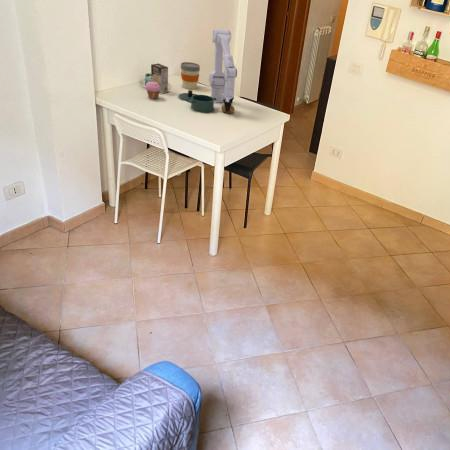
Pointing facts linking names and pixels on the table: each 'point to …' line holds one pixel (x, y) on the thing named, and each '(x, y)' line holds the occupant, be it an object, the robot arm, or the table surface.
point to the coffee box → (160, 76)
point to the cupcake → (153, 89)
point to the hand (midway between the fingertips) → (227, 110)
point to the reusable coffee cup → (190, 74)
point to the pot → (202, 103)
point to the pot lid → (186, 95)
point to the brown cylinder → (229, 110)
